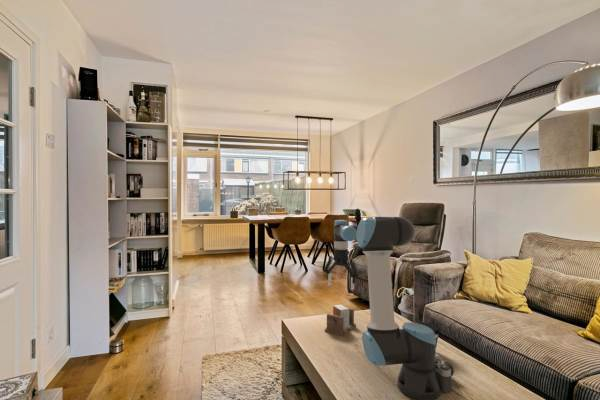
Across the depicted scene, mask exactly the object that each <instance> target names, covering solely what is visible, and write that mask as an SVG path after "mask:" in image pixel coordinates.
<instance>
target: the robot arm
mask: <svg viewBox="0 0 600 400" xmlns="http://www.w3.org/2000/svg"><path fill="white" fill-rule="evenodd" d="M415 229H416V228H415V225H414V224H413V222H411V221H410V220H409V219H407V218H405V217H402V216H369V217H363V218H362V219H361V220H360V221H359V223H358V224H357V225H355V224H354V225H353V224H352V225H351V224H350V225H349V222H348V220H346V219H336V220H334V224H333V234H334V235H333V238H334V239H333V242H334V243H333V248H334V249H333V255H331V256H328V260H327V262H326V265H325V267H324V269H323V273H325V274H326V280H327V286H328V287H330V286H332V273H331V272H332V271H333V270H334V269H335V268H336V266H338V267H340V266H341V267H344V268H345V269H346V270H347V272H348V273H349V275H350V276H351V277H350V291H353V290H354V289H355V284H356V282H357V277H360V273H359V271H358V269H357V266H356V263H355V260H354V257H352V258H349V249H348V248H349V242H353V241H356V242H357V243H356V244H357V246H358V247H359V248H361V249H362V253H363V254H364V255H365V256H366V262H367V263H366V264H367V279H368V281H367V282H368V283H367V284H368V295H369V311H370V314H369V315H370V321H369V322H368V323H367V324H366V330H364V331H363V332H362V336H361V341H362V342H361V343H362V346H363V350H364V353H365V356H366V358H367V360H368V362H369V363H370V364H372V365H373V366H377V367H378V366H383V367H385V366H391V365H401V364H402V365H401V367H400V370H399V373H398V376H397V388H398V389H399V390H400V391H401V392H402V393H403V394H405V395H406V396H408V397H409V398H413V399H415V400H435V399H438V398H439V397H440V396H441V391H440V383H439V380H438V377H437V374H436V370H435V362H436V354H437V352H436V349H437V346H436V337H435V333H434V331H433V330H432V329H430V328H429V327H427V326H424V325H421V324H418V323H419V322H410V321H408V322H407V321H406V322H404V323H403V324H402V328H400V325H399V324H398V323H397V322H396V321H395V312H394V299H393V297H394V296H393V285H392V273H391V272H392V270H391V269H392V267H391V255H392V254H393V252H394V247H403V246H405V245H408V244H410V243H411V241H413V240H414V238H415V235H416V230H415ZM333 261H334V262H333ZM332 262H333V264H332ZM331 264H332V265H331ZM349 264H350V265H349Z"/></svg>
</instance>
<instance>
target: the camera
mask: <svg viewBox="0 0 600 400" xmlns="http://www.w3.org/2000/svg"><path fill="white" fill-rule="evenodd" d="M435 370H436V374H437V377H438V380H439V383H440V393H443V394H450V393H452V377H453V376H454V373H455V369H454V366H453V364H452V363H451V362H450V361H445V360H444V359H443V358H442V357H441V355H439V354H438V353H436V362H435Z"/></svg>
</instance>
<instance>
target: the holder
mask: <svg viewBox="0 0 600 400" xmlns="http://www.w3.org/2000/svg"><path fill="white" fill-rule="evenodd" d="M348 308H349V307H348ZM356 325H357V324H356V323H355V308H349V328H346V329H343V328H344V317H341V316H336V315H333V313H332V314H331V313H327V314H326V328H324V332H325V333H329V334H332V335H337V336H340V337H345V336H346V335H347V334H348V333H349V332H350V331H352V330H353V328H355V327H356Z"/></svg>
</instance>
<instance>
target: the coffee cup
mask: <svg viewBox="0 0 600 400" xmlns="http://www.w3.org/2000/svg"><path fill="white" fill-rule="evenodd" d="M417 323H418V324H421V325H424V326H427V327H429V328H430V329H432V330H433V331H434V333H435V337H436V347H437V345H438V339H439V334H440V333H441V332H440V331H441V329H439V326H437V325H436V324H433V323H431V322H417Z"/></svg>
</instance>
